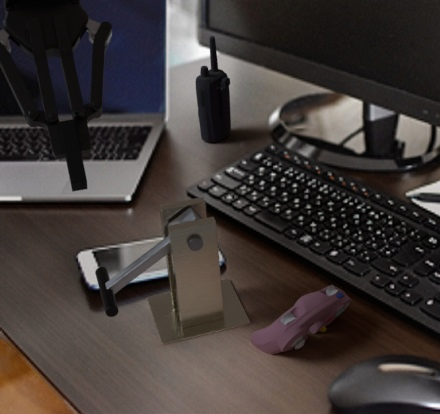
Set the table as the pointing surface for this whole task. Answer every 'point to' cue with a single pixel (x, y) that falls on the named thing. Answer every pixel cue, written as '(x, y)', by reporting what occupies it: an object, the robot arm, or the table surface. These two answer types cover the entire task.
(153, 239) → the table surface
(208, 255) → the bracket
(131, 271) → the lever
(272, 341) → the pink toy race car
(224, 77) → the two-way radio
